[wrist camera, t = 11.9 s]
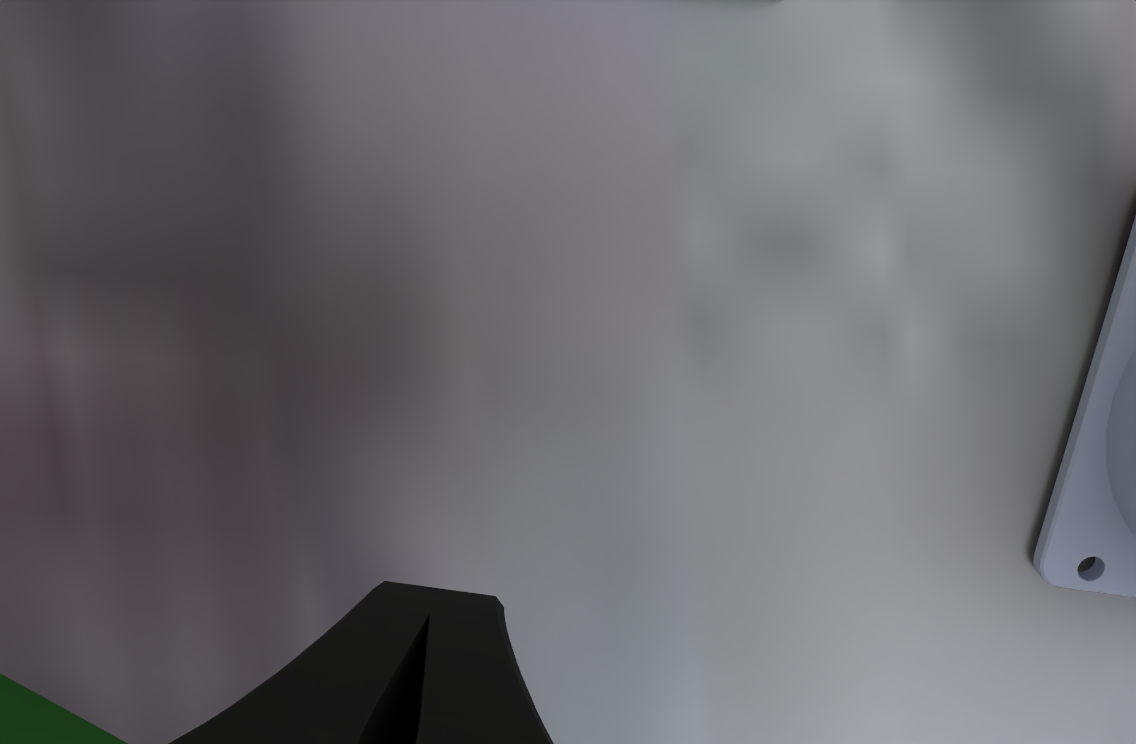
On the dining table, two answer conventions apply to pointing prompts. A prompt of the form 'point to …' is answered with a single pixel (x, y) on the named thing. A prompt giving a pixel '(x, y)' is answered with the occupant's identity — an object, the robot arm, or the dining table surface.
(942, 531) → the dining table surface
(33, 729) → the hardback book
